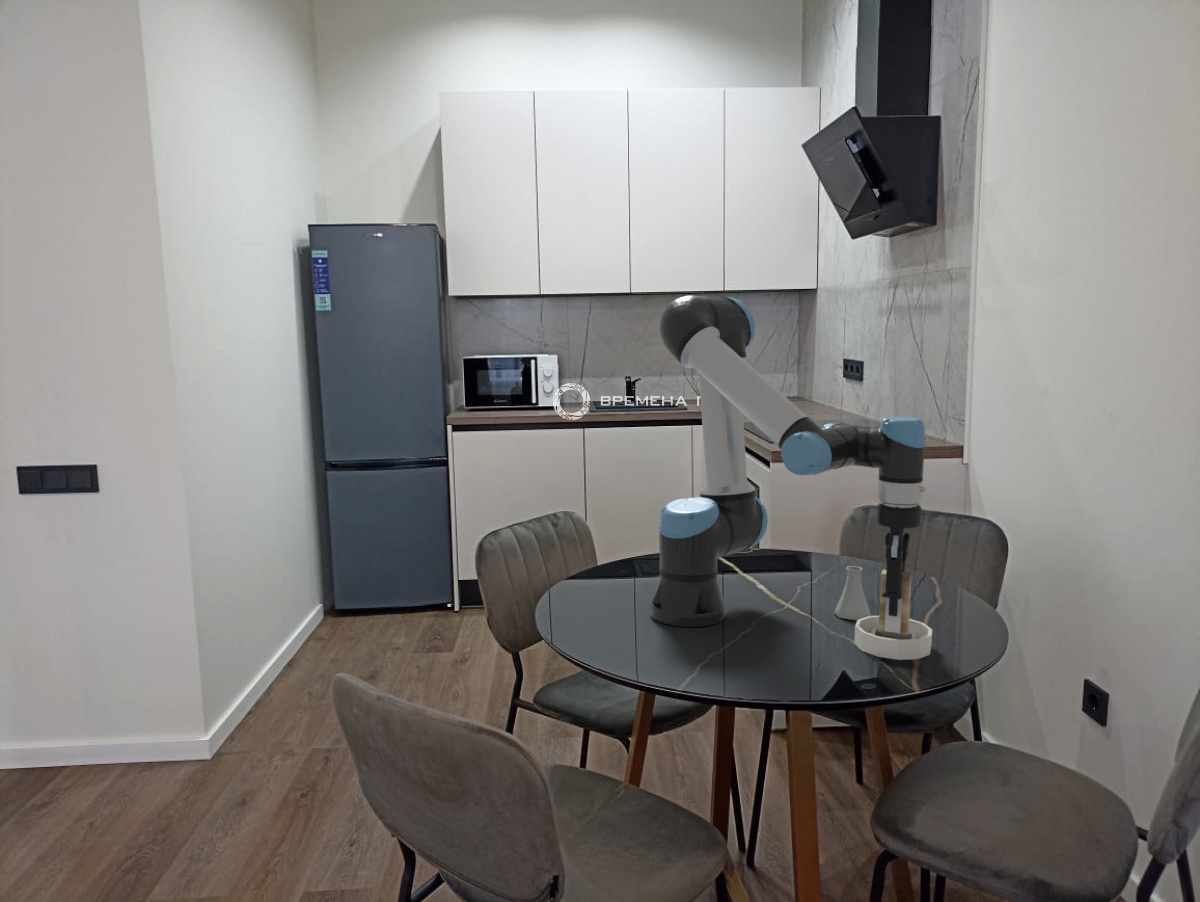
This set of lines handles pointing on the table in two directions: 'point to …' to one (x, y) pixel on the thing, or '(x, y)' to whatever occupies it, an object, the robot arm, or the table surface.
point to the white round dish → (893, 640)
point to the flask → (853, 597)
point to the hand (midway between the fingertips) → (893, 628)
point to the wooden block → (905, 603)
